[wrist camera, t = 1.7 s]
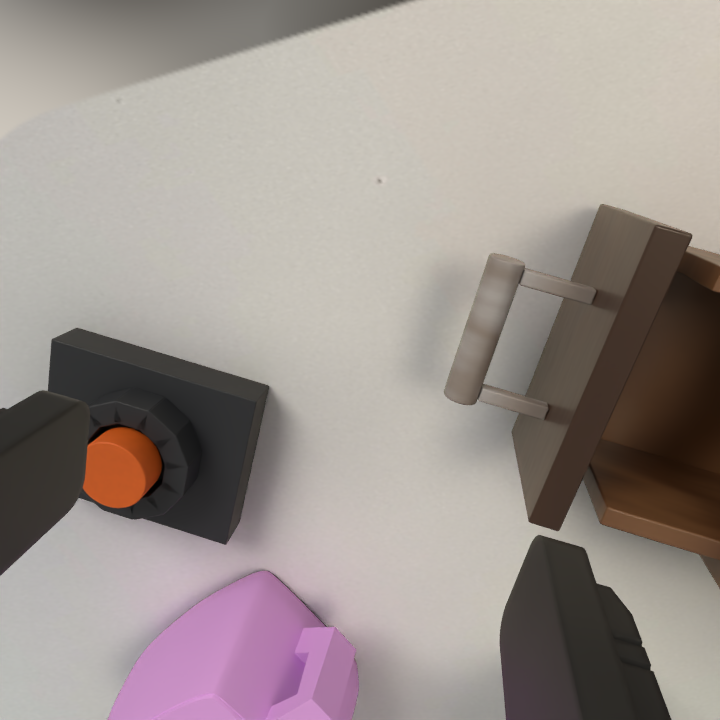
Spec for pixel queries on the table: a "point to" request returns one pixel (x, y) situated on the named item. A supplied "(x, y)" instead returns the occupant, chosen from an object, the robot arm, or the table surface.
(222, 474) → the control box
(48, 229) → the table surface
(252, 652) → the teapot
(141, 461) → the button
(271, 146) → the table surface
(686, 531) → the open drawer
